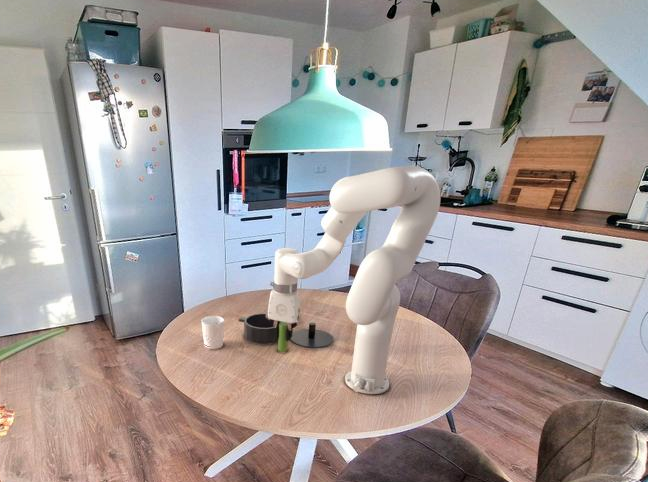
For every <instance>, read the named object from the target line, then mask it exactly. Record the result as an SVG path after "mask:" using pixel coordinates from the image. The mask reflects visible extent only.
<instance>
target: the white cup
mask: <svg viewBox="0 0 648 482" xmlns="http://www.w3.org/2000/svg"><path fill="white" fill-rule="evenodd" d="M200 322H201V331H202V338H203V344H205V345H207V346H211V347H207V346H205V345H204V347H205V348H206V349H209V350H216V349H219V348H222V347H223V346H224V337H225V335H224V333H225V319H224V318H223V317H222V316H219V315H208V316H205V317H203V318H201V321H200ZM220 345H221V346H220ZM216 346H219V347H216Z"/></svg>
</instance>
